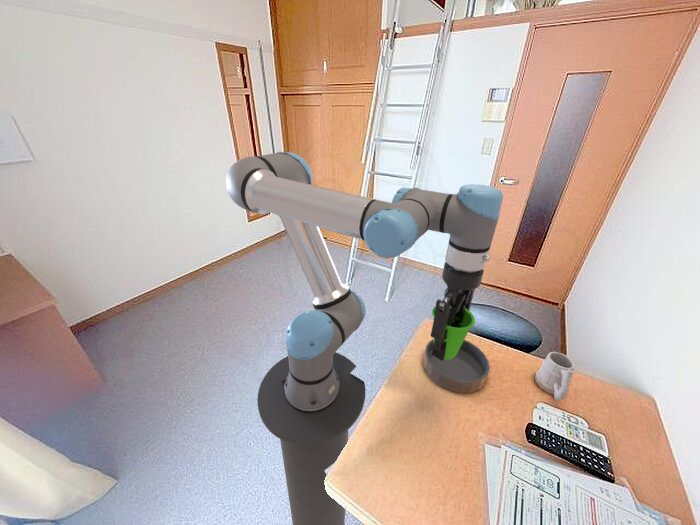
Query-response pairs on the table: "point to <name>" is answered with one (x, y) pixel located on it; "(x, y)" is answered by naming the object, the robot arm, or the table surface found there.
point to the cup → (457, 334)
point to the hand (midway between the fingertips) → (444, 350)
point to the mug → (555, 374)
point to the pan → (458, 368)
